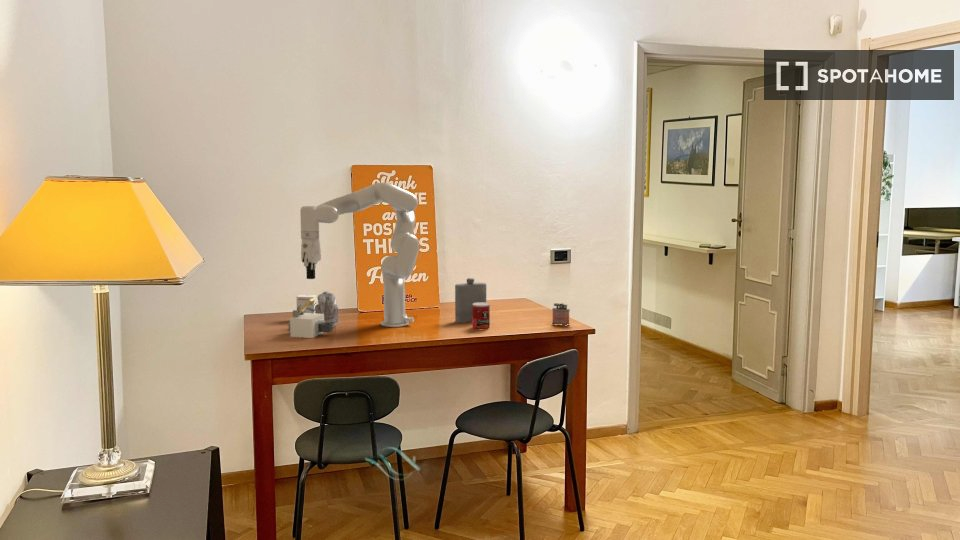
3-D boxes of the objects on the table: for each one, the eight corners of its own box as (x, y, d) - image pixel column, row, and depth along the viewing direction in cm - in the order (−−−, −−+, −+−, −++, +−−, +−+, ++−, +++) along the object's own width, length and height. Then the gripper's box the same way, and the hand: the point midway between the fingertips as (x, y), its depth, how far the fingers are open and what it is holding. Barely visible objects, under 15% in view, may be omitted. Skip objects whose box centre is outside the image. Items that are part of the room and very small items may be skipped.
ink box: (296, 321, 347) (295, 296, 345) (300, 319, 352) (299, 294, 350) (314, 321, 346) (313, 297, 344) (317, 319, 351) (317, 295, 349)
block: (324, 331, 325) (323, 307, 323) (312, 338, 313) (311, 312, 312) (303, 330, 327) (302, 306, 325) (290, 336, 315) (289, 311, 314)
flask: (483, 318, 353) (483, 276, 350) (487, 321, 347) (487, 278, 345) (453, 320, 348) (453, 278, 345) (457, 323, 342) (456, 280, 340)
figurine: (338, 322, 344) (337, 290, 342) (339, 328, 333) (338, 294, 331) (315, 323, 342) (314, 291, 340) (315, 329, 331) (314, 295, 329)
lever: (315, 300, 319) (313, 297, 320) (311, 301, 315) (309, 299, 315) (300, 314, 322) (298, 311, 322) (296, 316, 318) (293, 313, 318)
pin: (333, 331, 321) (333, 320, 320) (327, 334, 315) (327, 323, 314) (293, 329, 324) (293, 318, 324) (287, 332, 319) (286, 321, 318)
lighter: (570, 325, 339) (570, 303, 337) (568, 326, 336) (568, 304, 334) (553, 323, 342) (553, 302, 341) (551, 324, 339) (551, 303, 338)
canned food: (477, 330, 327) (477, 306, 326) (469, 327, 334) (469, 303, 333) (492, 328, 331) (492, 304, 329) (484, 325, 338) (484, 301, 336)
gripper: (310, 237, 306) (311, 281, 308) (325, 234, 320) (326, 276, 322) (293, 236, 307) (294, 280, 310) (309, 233, 322) (310, 276, 324)
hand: (310, 278), depth 316 cm, fingers closed
